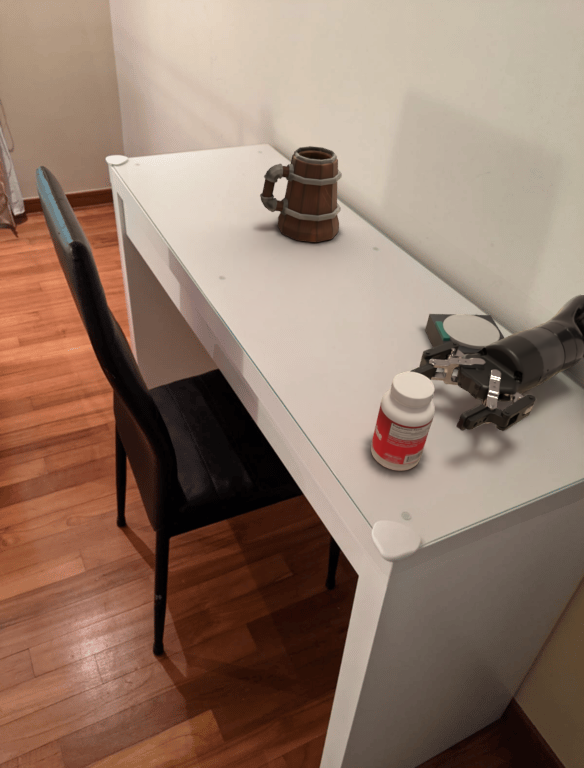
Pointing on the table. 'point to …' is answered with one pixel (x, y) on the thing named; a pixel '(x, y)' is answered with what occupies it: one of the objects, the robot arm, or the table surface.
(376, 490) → the table surface
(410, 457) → the pill bottle
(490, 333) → the scale
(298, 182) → the mug
